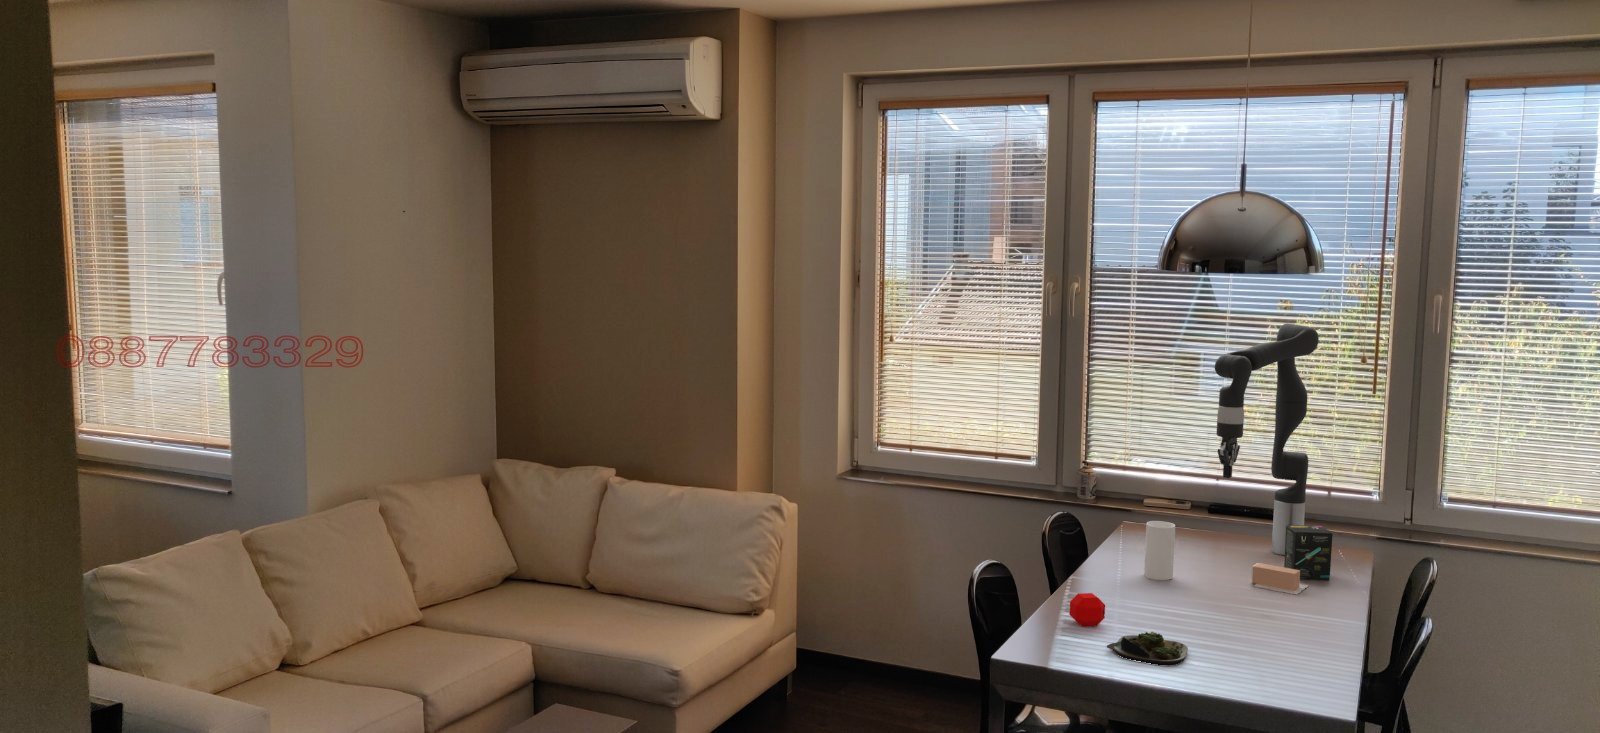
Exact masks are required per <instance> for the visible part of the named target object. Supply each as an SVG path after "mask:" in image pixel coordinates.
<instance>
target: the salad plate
mask: <svg viewBox="0 0 1600 733" xmlns="http://www.w3.org/2000/svg"><path fill="white" fill-rule="evenodd" d="M1106 648H1107V649H1110V650H1111V651H1113V653H1115V654H1116V655H1117V656H1118V655H1119V656H1118V657H1120V656H1121V657H1120V658H1122V657H1123V658H1122V659H1124V658H1127V659H1131V660H1136V661H1141V662H1146V663H1151V664H1150V665H1152V664H1158V665H1157V666H1160V665H1173V666H1177V665H1179V664H1181V663H1183V662H1184V661H1185V660H1186V656H1187V654H1188V651H1189V648H1188V646H1187V645H1186V644H1184V643H1181V642H1179V641H1177V640H1176V641H1175V640H1168V639H1164V637H1163V635H1162V634H1160V633H1157V632H1154V631H1151V632H1148V631H1146V632H1144V633H1143V632H1141V633H1139V634H1137V635H1136V634H1129V635H1122V636H1121V637H1120V638H1119V639H1118V640H1117V641H1116V642H1112V643H1109V644H1107V645H1106ZM1127 659H1126V660H1127ZM1131 660H1130V661H1131ZM1136 661H1135V662H1136ZM1141 662H1140V663H1141ZM1146 663H1145V664H1146ZM1176 664H1177V665H1176Z"/></svg>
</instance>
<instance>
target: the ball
mask: <svg viewBox="0 0 1600 733" xmlns="http://www.w3.org/2000/svg"><path fill="white" fill-rule="evenodd" d="M1105 614H1106V604H1105V602H1103V601H1102V600H1101V599H1100V598H1099V597H1098V596H1096V595H1095V594H1094V593H1092V592H1087V593H1086V592H1084V593H1083V592H1082V593H1081V592H1080V593H1077V594H1076V595H1075V596H1074V597H1073V598H1072V599H1071V600H1070V601H1069V616H1070V617H1071V618H1072V619H1073V620H1074V621H1075V622H1076V623H1077V624H1079V625H1080V626H1081V627H1083V628H1086V627H1089V628H1090V627H1098V625H1100V623H1102V621H1103V620H1104V619H1105Z"/></svg>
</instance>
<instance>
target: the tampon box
mask: <svg viewBox="0 0 1600 733" xmlns="http://www.w3.org/2000/svg"><path fill="white" fill-rule="evenodd" d="M1332 550H1333V532H1331V531H1330V530H1329V529H1327V528H1325V526H1321V525H1304V526H1297V525H1286V538H1285V555H1284V562H1283V563H1284V566H1283V567H1284V568H1290V569H1295V570H1300V580H1309V579H1313V580H1312V581H1315V580H1316V581H1317V580H1318V581H1330V580H1331V579H1330V578H1331V566H1332Z"/></svg>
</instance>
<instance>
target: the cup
mask: <svg viewBox="0 0 1600 733" xmlns="http://www.w3.org/2000/svg"><path fill="white" fill-rule="evenodd" d="M1145 525H1146V526H1145V527H1146V528H1145V544H1144V545H1145V546H1144V547H1145V548H1144V552H1145V553H1144V568H1143V570H1144V572H1143V576H1144V577H1145V576H1146V577H1145V578H1147V577H1148V579H1150V578H1151V580H1154V579H1155V580H1156V581H1170V580H1169V579H1171V580H1173V578H1174V561H1175V560H1174V559H1175V544H1176V543H1175V538H1176V524H1175V523H1173V522H1169V521H1162V520H1149V521H1147V522H1146V524H1145Z"/></svg>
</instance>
